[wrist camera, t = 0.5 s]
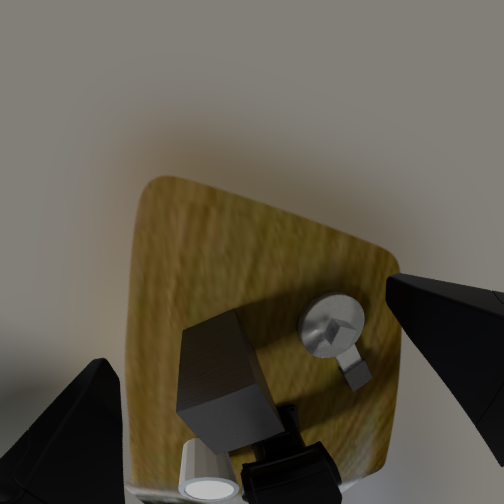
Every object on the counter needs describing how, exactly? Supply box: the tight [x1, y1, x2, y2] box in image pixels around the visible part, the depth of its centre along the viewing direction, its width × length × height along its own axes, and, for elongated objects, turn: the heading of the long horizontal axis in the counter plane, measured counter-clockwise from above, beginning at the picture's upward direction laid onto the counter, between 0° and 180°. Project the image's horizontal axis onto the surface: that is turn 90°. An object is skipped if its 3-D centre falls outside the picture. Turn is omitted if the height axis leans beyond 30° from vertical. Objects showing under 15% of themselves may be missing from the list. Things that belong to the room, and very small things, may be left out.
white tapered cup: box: [179, 437, 239, 502], centre depth 25 cm, size 7×7×7 cm
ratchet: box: [297, 291, 372, 392], centre depth 26 cm, size 13×7×4 cm, turn 30°
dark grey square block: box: [176, 309, 285, 455], centre depth 20 cm, size 5×5×11 cm
